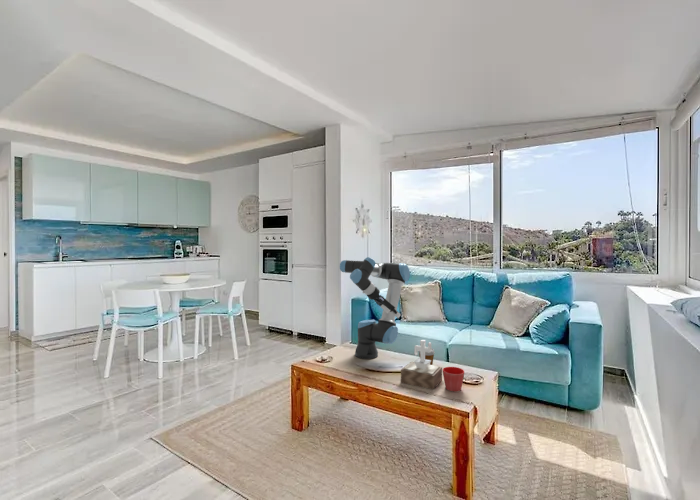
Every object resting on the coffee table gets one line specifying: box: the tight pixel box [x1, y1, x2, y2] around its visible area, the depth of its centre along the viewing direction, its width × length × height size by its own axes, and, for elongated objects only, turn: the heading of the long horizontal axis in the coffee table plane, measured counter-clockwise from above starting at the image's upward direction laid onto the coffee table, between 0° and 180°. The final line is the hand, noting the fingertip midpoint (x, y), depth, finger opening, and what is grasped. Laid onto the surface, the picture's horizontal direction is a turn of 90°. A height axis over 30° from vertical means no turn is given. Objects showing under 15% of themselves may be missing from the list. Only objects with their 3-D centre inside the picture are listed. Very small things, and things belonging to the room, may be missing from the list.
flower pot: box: [442, 366, 465, 393], centre depth 191 cm, size 11×11×10 cm
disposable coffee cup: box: [418, 347, 436, 365], centre depth 219 cm, size 10×10×12 cm
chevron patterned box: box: [400, 361, 443, 390], centre depth 201 cm, size 18×15×8 cm
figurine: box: [413, 339, 432, 370], centre depth 200 cm, size 7×9×15 cm
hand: (393, 314), depth 222 cm, fingers open, 13 cm apart
